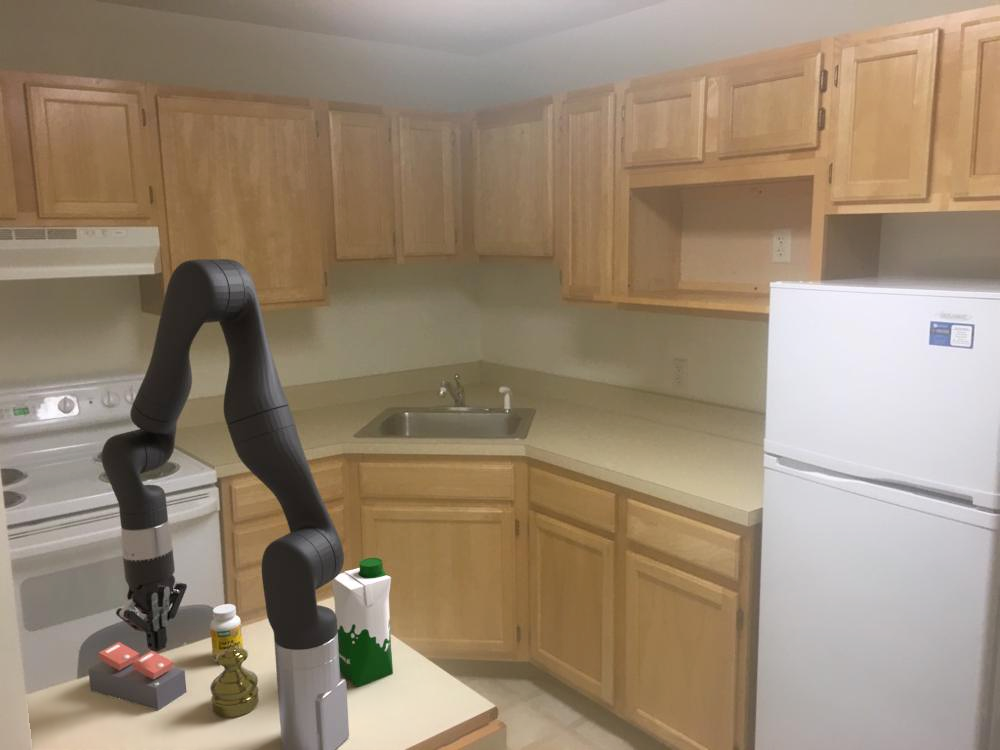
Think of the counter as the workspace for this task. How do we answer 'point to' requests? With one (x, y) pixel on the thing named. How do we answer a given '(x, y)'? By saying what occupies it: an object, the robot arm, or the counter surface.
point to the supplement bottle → (225, 629)
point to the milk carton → (363, 622)
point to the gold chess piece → (234, 685)
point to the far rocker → (118, 656)
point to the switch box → (137, 685)
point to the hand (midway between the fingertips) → (158, 648)
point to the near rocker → (152, 665)
